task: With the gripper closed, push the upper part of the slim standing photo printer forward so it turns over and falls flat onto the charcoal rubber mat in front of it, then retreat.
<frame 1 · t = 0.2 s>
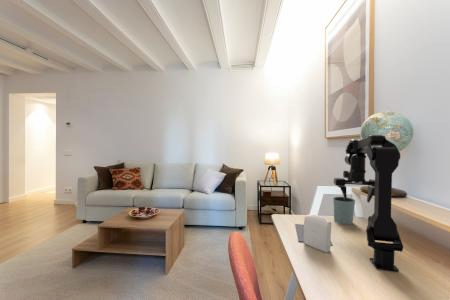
hand: (356, 201, 102), 14 cm above the table, fingers open, 9 cm apart
grey-blue cup: (343, 222, 117), on the table
mat: (311, 234, 101), on the table
photo printer: (316, 247, 88), on the table, touching mat
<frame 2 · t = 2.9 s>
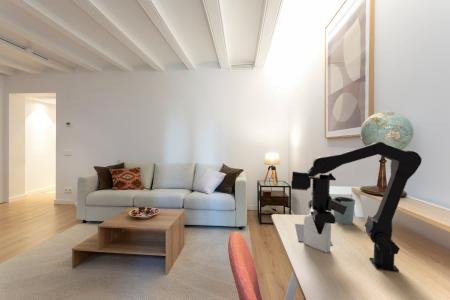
hand: (319, 233, 82), 8 cm above the table, fingers closed
photo printer: (316, 247, 88), on the table, touching gripper, mat
everything else where it was.
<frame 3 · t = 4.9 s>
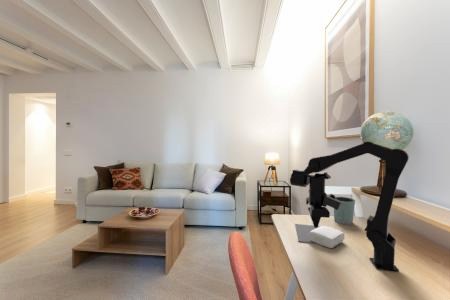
hand: (315, 227, 90), 7 cm above the table, fingers closed
photo printer: (319, 239, 89), point 3 cm above the table, touching mat
everything else where it was.
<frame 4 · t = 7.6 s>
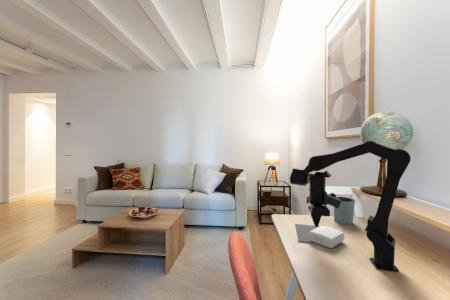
hand: (316, 226, 89), 8 cm above the table, fingers closed
nothing on the table moved.
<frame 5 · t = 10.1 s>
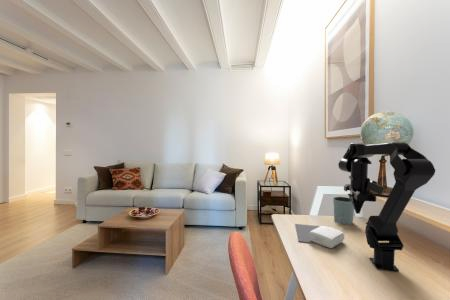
hand: (357, 213, 90), 13 cm above the table, fingers closed
nothing on the table moved.
at the end: photo printer tilted 90°; photo printer inside the target area (10.2 cm from its centre), point 2.5 cm above the table; the gripper is holding nothing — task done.
